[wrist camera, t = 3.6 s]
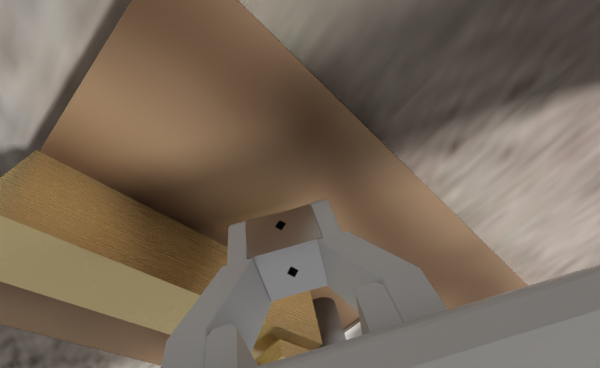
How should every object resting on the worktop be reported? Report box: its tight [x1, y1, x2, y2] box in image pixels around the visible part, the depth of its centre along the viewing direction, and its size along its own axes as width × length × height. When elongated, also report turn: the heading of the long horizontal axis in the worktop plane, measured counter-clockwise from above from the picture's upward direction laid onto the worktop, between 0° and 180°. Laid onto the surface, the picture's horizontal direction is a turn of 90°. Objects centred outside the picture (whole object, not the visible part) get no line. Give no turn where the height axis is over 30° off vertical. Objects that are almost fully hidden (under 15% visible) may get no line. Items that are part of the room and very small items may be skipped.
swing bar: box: [0, 150, 322, 366], centre depth 12 cm, size 17×4×5 cm, turn 47°
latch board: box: [0, 0, 527, 365], centre depth 17 cm, size 18×30×5 cm, turn 47°
